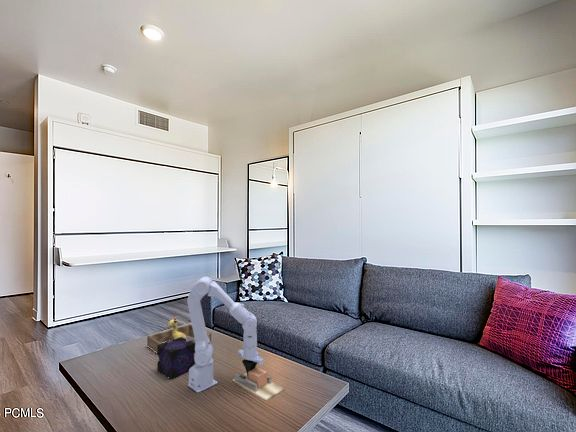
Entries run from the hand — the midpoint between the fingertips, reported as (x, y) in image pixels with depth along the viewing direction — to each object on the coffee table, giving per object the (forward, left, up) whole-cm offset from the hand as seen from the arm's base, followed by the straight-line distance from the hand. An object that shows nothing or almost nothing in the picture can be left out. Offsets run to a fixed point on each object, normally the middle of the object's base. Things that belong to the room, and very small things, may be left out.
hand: (250, 376), depth 126 cm
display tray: (-2, +57, -2) cm, 57 cm away
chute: (0, -4, -2) cm, 5 cm away
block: (0, -5, -2) cm, 5 cm away
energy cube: (-16, +33, -2) cm, 37 cm away
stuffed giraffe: (-2, +57, -2) cm, 57 cm away
